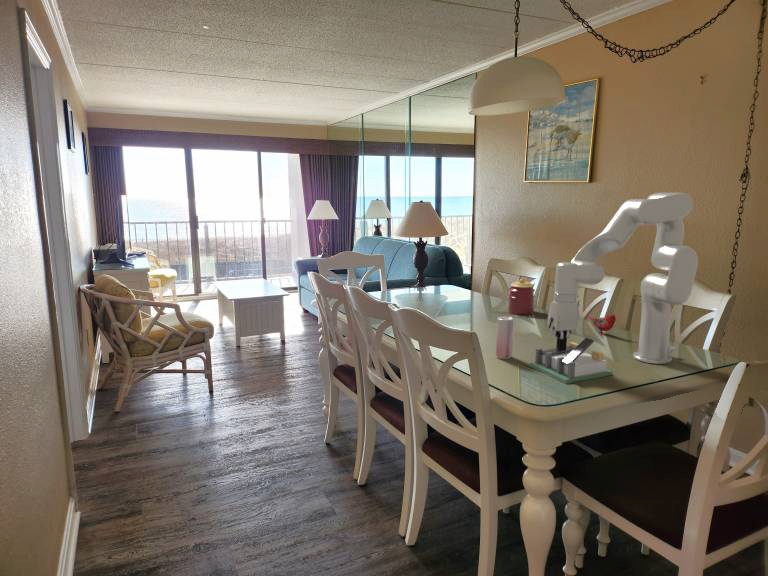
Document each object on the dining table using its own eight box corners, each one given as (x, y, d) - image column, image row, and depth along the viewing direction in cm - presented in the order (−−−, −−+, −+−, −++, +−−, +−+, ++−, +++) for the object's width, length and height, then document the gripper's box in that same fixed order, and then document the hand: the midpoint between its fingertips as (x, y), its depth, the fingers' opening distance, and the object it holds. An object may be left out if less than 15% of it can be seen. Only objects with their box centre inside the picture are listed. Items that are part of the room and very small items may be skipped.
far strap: (567, 348, 185) (567, 345, 185) (574, 350, 182) (574, 348, 182) (540, 353, 180) (540, 351, 180) (546, 356, 177) (546, 353, 177)
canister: (517, 308, 272) (518, 275, 269) (538, 312, 263) (540, 278, 260) (502, 312, 264) (503, 278, 261) (524, 316, 254) (526, 281, 251)
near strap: (586, 339, 173) (585, 337, 172) (594, 341, 170) (593, 339, 170) (562, 362, 170) (561, 361, 170) (569, 365, 167) (568, 363, 167)
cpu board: (573, 359, 189) (575, 339, 188) (612, 374, 173) (614, 353, 172) (529, 366, 182) (530, 346, 180) (565, 383, 165) (566, 361, 164)
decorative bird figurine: (612, 339, 214) (614, 315, 212) (583, 328, 231) (584, 307, 229) (617, 338, 215) (619, 315, 213) (588, 328, 232) (589, 306, 230)
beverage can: (494, 354, 195) (495, 316, 193) (510, 354, 195) (511, 316, 192) (497, 359, 190) (498, 320, 187) (513, 359, 189) (515, 320, 187)
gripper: (574, 294, 185) (570, 344, 188) (540, 297, 179) (537, 348, 182) (589, 298, 178) (585, 349, 181) (555, 301, 172) (551, 354, 176)
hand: (561, 348), depth 182 cm, fingers closed
